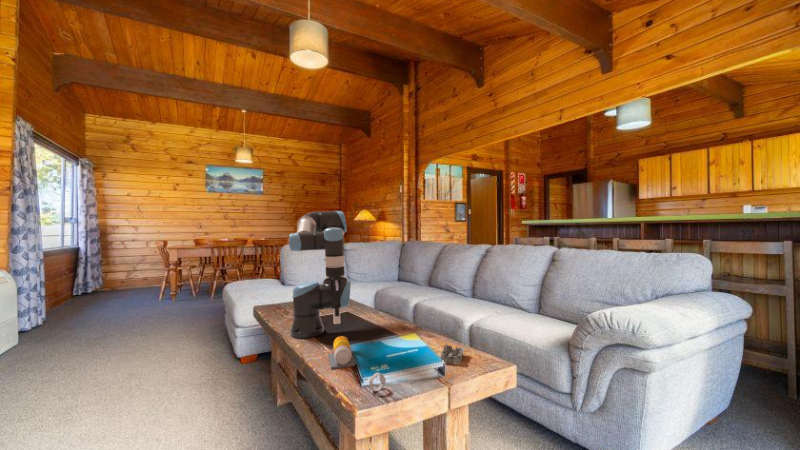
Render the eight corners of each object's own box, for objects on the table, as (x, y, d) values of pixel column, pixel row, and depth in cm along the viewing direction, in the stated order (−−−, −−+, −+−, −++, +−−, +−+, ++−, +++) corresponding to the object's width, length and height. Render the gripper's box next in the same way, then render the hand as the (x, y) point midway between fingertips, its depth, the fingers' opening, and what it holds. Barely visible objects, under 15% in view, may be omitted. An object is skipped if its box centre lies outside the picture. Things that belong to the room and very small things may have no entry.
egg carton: (445, 353, 137) (445, 342, 137) (465, 355, 134) (465, 344, 134) (438, 364, 127) (438, 352, 127) (460, 366, 124) (459, 354, 124)
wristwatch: (386, 388, 109) (385, 372, 109) (373, 394, 106) (373, 378, 106) (380, 385, 111) (379, 369, 111) (367, 391, 108) (367, 375, 108)
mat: (328, 355, 138) (328, 353, 138) (351, 352, 140) (351, 350, 140) (331, 369, 125) (331, 367, 125) (356, 365, 128) (356, 363, 128)
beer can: (351, 345, 142) (354, 359, 128) (338, 353, 141) (339, 369, 127) (344, 332, 142) (346, 345, 127) (330, 340, 141) (331, 354, 126)
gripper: (324, 264, 151) (326, 319, 152) (326, 269, 138) (329, 329, 139) (342, 263, 153) (344, 317, 154) (346, 267, 140) (348, 327, 142)
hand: (337, 323), depth 147 cm, fingers closed
